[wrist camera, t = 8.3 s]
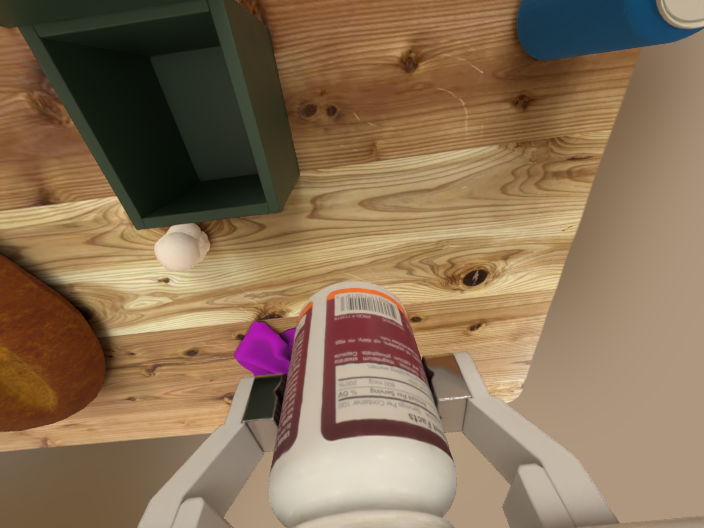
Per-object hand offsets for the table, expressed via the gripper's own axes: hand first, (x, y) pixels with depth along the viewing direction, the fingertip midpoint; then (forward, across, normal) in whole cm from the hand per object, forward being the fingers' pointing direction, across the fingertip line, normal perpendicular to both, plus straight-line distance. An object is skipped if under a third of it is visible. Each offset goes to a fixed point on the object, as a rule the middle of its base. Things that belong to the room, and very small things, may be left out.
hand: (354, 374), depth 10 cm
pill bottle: (+3, 0, 0) cm, 3 cm away
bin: (+23, +10, -8) cm, 26 cm away
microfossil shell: (+23, +18, +3) cm, 29 cm away
